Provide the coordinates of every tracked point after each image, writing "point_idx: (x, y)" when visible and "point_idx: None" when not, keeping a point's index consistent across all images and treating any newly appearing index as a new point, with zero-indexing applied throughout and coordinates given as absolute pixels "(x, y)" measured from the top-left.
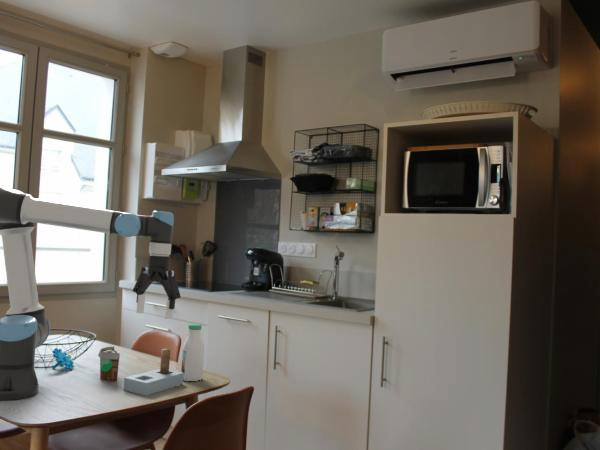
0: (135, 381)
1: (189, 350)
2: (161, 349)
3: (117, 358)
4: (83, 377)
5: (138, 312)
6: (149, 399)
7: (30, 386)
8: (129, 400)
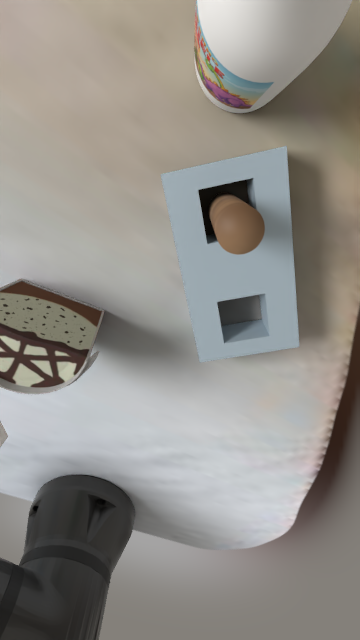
0: (249, 352)
1: (299, 68)
2: (224, 249)
3: (95, 358)
4: None
5: (1, 438)
6: (323, 340)
7: (123, 519)
8: (291, 380)
